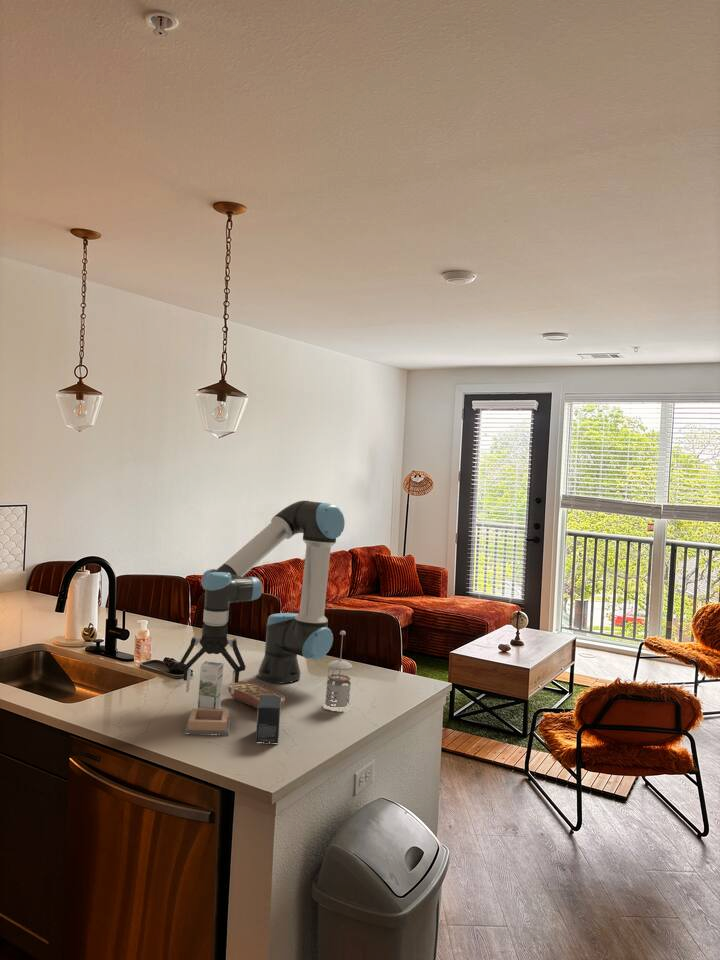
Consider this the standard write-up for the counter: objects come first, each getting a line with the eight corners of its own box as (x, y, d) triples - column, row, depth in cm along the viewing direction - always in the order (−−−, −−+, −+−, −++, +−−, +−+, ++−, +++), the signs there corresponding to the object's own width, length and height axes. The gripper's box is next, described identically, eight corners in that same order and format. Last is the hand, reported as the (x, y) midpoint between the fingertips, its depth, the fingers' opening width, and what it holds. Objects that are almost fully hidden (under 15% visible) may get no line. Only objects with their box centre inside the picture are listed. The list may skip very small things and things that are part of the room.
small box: (256, 729, 209) (259, 693, 209) (279, 730, 210) (282, 695, 210) (254, 744, 199) (257, 706, 199) (278, 745, 199) (281, 707, 199)
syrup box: (220, 708, 225) (224, 662, 224) (214, 714, 219) (218, 667, 219) (202, 706, 225) (206, 660, 225) (196, 712, 219) (200, 665, 219)
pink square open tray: (230, 720, 215) (231, 708, 215) (228, 735, 203) (228, 723, 203) (189, 719, 213) (190, 707, 213) (184, 734, 202) (185, 721, 202)
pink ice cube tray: (221, 699, 234) (223, 684, 233) (246, 694, 241) (247, 679, 241) (266, 720, 218) (267, 704, 218) (291, 714, 225) (292, 698, 225)
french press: (329, 713, 228) (335, 635, 227) (314, 701, 238) (320, 626, 237) (357, 711, 232) (363, 633, 232) (341, 699, 242) (347, 625, 242)
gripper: (256, 622, 227) (251, 689, 227) (175, 618, 224) (170, 686, 224) (256, 628, 219) (250, 697, 220) (172, 623, 216) (167, 694, 217)
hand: (210, 691), depth 222 cm, fingers open, 13 cm apart
